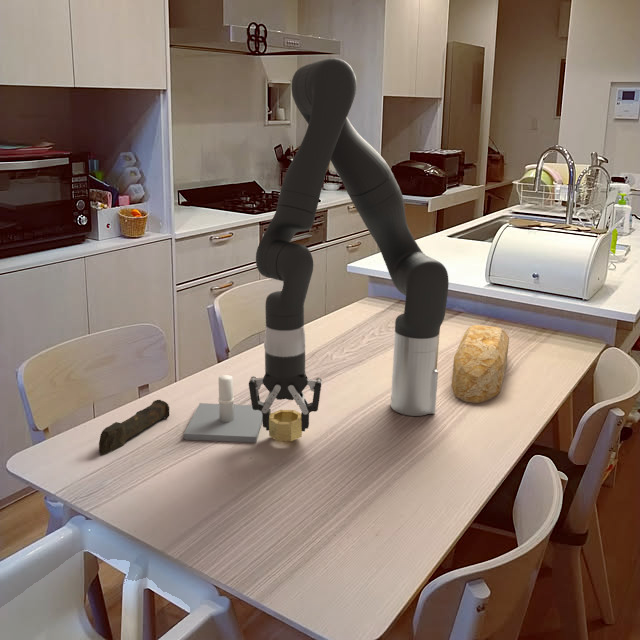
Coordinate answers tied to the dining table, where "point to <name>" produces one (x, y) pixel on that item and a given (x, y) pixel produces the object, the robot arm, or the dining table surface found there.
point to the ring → (285, 425)
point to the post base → (224, 430)
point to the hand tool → (131, 426)
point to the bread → (480, 363)
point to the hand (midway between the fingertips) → (285, 428)
